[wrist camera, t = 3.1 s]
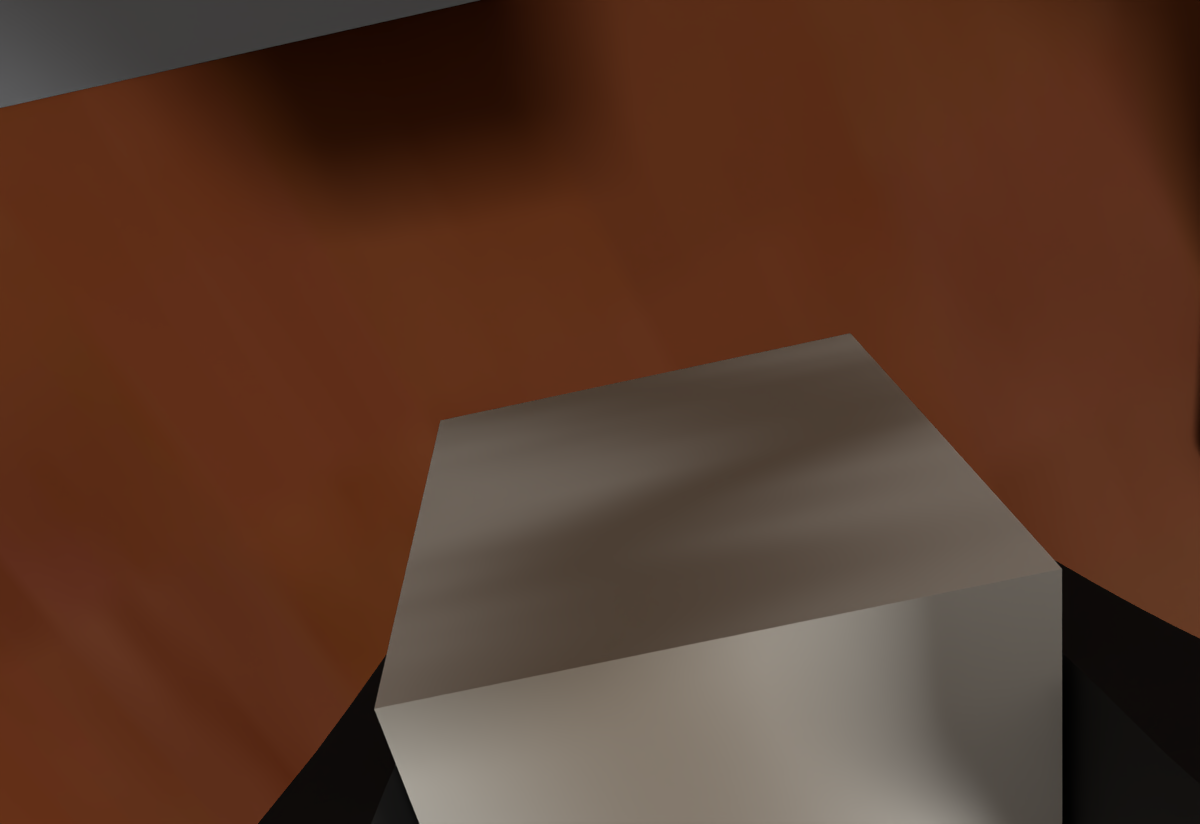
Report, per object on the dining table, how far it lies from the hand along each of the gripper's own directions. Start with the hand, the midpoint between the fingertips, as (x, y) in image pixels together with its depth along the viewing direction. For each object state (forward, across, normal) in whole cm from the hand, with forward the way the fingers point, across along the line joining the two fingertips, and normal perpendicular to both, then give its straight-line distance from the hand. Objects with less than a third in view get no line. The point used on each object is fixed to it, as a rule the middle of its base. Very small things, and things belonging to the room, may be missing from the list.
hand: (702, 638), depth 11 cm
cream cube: (+2, 0, 0) cm, 2 cm away
